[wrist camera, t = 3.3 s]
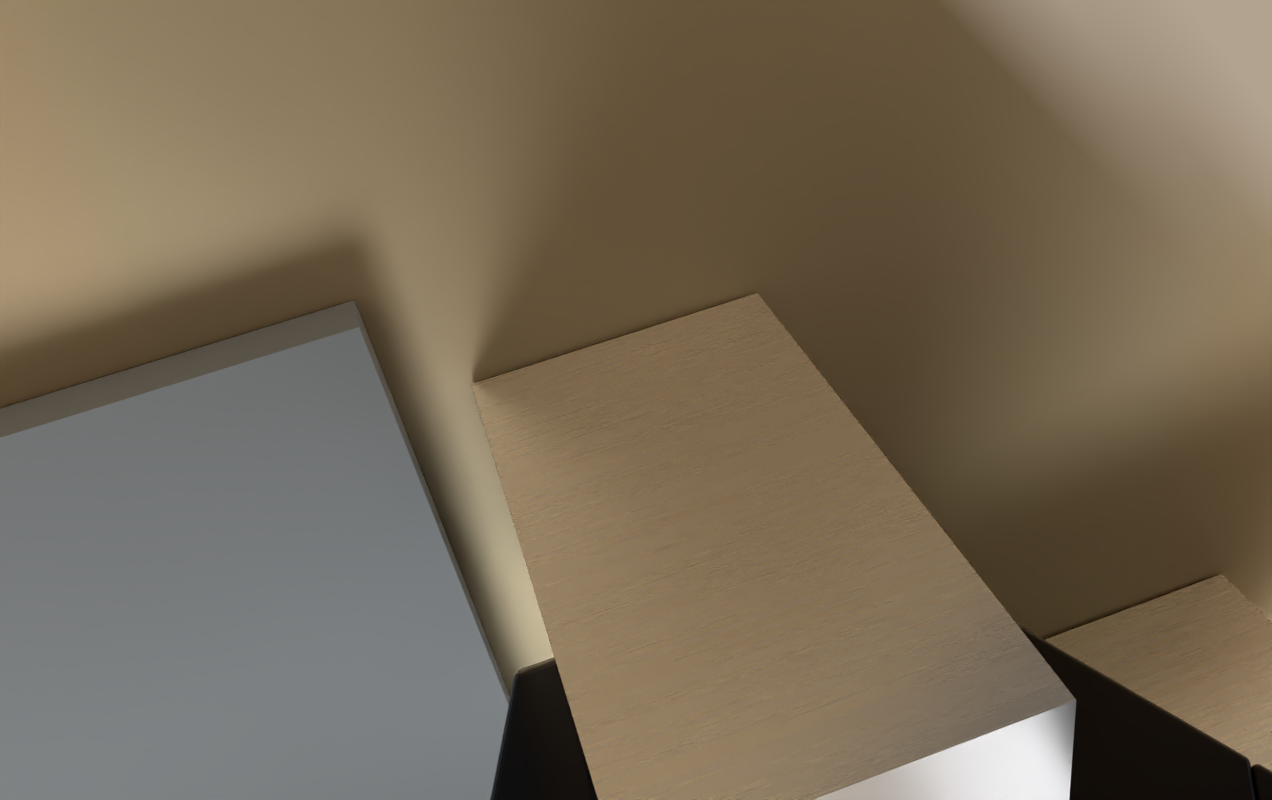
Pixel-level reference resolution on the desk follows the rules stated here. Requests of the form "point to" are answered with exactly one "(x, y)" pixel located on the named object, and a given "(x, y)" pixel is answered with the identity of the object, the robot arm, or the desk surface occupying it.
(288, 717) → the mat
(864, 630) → the bracket
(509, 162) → the desk surface
